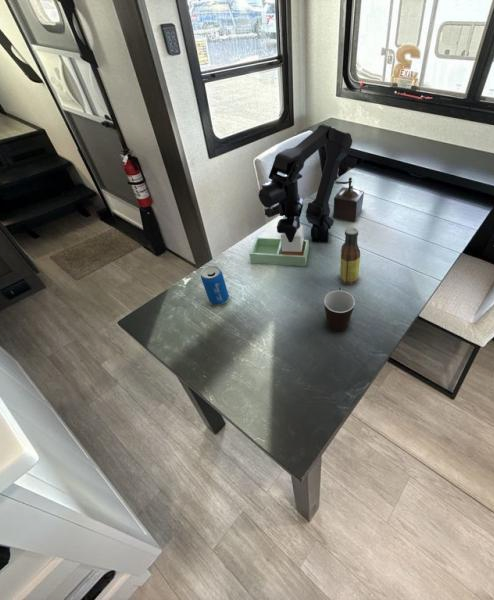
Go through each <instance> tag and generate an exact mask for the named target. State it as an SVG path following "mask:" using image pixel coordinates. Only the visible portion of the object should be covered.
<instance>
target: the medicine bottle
mask: <svg viewBox="0 0 494 600" xmlns="http://www.w3.org/2000/svg"><path fill="white" fill-rule="evenodd" d="M282 219H287V217H285V215H284V216H282ZM300 219H301V218H299V217H298V216H295V220H296V221H297V226H298V228H297V231H296V234H295V236H294V238H293V241H292V242H289V241H288V239H287V237H286V235H285V233H280V236H279V238H281V246H282V251H288V252H301V251H302V245H303V240H304V227H303V226H304V225H303V224H301V220H300Z"/></svg>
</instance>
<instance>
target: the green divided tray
mask: <svg viewBox="0 0 494 600" xmlns="http://www.w3.org/2000/svg"><path fill="white" fill-rule="evenodd" d="M309 249H310V241H309V239H303V245H302V251H301V252H288V251H282V246H281V237H262V236H256V237H255V239H254V242H253V244H252V246H251V249H250V251H249V260H250V263H251V264H265V265H266V264H269V265H282V266H283V265H285V266H297V267H300V266H301V267H306V265H307V260H308V254H309Z"/></svg>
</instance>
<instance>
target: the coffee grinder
mask: <svg viewBox="0 0 494 600" xmlns="http://www.w3.org/2000/svg"><path fill="white" fill-rule="evenodd" d="M339 172H340V168H339V169H338V172H337V175H336V179H335V182H334V184H338V185H348V187H340V190H339V191H338V192H337V193H336V195H335V196H334V198H333V215H332V218H334V219H340V220H343V221H348V222H356V221H357V220H358V219H359V217H360V215H361V214H362V212H363V205H364V204H363V203H364V197H365V190H361V189H357V188H354V185H352V183H353V181H352V180H353V178H352V177H351V176H350V177H348V181H337V179H339V178H340V176H339Z"/></svg>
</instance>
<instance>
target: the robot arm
mask: <svg viewBox="0 0 494 600" xmlns="http://www.w3.org/2000/svg"><path fill="white" fill-rule="evenodd" d="M324 145H325V146H324ZM352 145H353V138H352V135H351V133H349V132H346V131H344V130H343V131H342V130H339V129H336V128H335V127H334V126H332V125H328V124H324V123H322V124H319V125H318V126H317V128H316V129H315V130H314V131H313V132H311V133H310V134H308V135H307V137H305V138H304V139H302V140H301V141H300V142H299V143H297V144H296V145H295V146H293V147H290V148H286V149H284V150H282V151H279V152H278V153H277V154H276V155H275V157H274V160H273V163H272V166H271V168H270V172H269V174H268V179H269V180H271V181H269V182H266V183H263V184H262V185H261V189H260V190H259V192H258V199H259V201H260V203H261V204H262V205H263V207H264V208H263V211H264V216H266V217H267V218H272V217H275V216H276V215H279V217H284V216H285V217H287V219H283V218H280V219H279V220H278V222H277V224H276V233H278V234H281V233H285V235H286V237H287V239H288V241H289V242H292V241H293V238H294V236H295V234H296V231H297V228H298V226H297V221H296V220H295V216H298V217H299V219H301V215H302V212H303V207H304V199H303V198H302V197H300V194H299V186H298V185H299V182H298V180H300V179H302V178H303V175H302V174H301V173H300V172H301V171H302V170H303V169H304V167H305V162H306V161H307V160H308V159H309V158H310V157H312V156H313V155H314V154H315V153H317V151H318V150H320V149H321V148H322V147H323V146H324V148H325V154H326V160H325V163H324V167H323V170H322V174H321V177H320V180H319V181H320V182H319V185H318V188H317V192H316V195H315V197H314V199H313V201H311V202H308V204H307V208H306V210H305V218H306V220H307V221H308V224H311V226H310V238H311V242H313V243H328V242H329V236H330V230H331V229H332V227H333V225H334V222H335V221H334V219H333V218H331V216H330V213H331V207H330V203H329V202H330V199H331V195H332V191H333V189H334V184H335V179H336V175H337V172H338V169H339V170H340V165H341V162H342V161H343V160H344V158H345V157H347V156H348V154H349V151H350V150H351V147H352ZM278 173H279V174H278ZM338 173H339V172H338ZM336 180H337V179H336Z"/></svg>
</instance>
